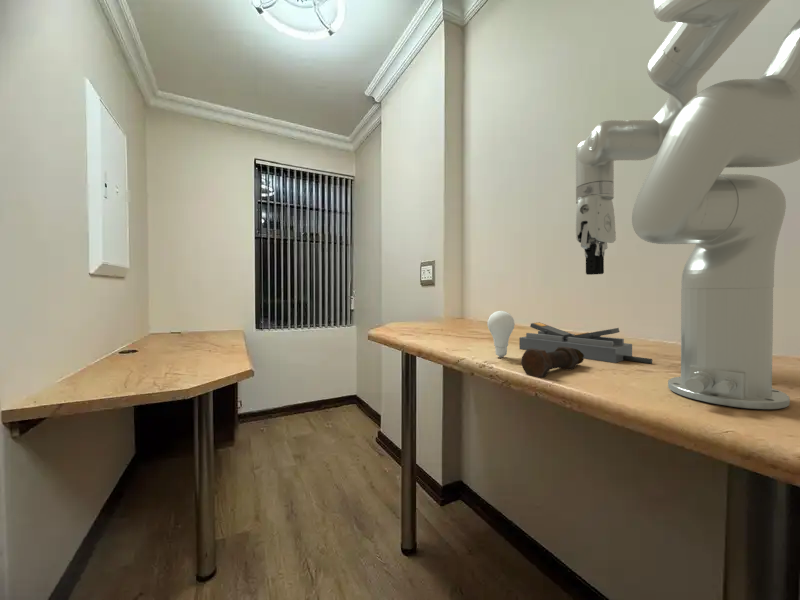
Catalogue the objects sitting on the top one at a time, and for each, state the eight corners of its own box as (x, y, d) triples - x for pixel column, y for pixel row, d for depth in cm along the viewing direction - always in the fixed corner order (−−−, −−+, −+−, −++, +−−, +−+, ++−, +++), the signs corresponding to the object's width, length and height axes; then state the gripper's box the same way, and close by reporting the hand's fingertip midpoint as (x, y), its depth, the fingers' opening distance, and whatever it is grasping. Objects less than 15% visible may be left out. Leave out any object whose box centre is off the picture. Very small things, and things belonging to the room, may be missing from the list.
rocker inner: (612, 335, 73) (610, 328, 73) (572, 341, 80) (570, 335, 80) (620, 333, 75) (618, 327, 76) (580, 339, 82) (578, 333, 83)
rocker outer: (561, 340, 82) (563, 334, 82) (529, 327, 89) (531, 322, 89) (570, 338, 84) (571, 333, 84) (538, 326, 91) (539, 321, 91)
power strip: (643, 367, 66) (643, 346, 66) (519, 348, 89) (519, 333, 89) (659, 360, 72) (659, 341, 72) (538, 344, 94) (538, 330, 94)
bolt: (580, 374, 69) (536, 384, 61) (561, 359, 73) (516, 366, 65) (595, 352, 67) (551, 359, 59) (574, 337, 70) (529, 342, 62)
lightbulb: (482, 356, 81) (482, 310, 80) (504, 354, 83) (504, 309, 82) (497, 360, 75) (496, 312, 75) (520, 358, 77) (520, 311, 76)
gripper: (597, 184, 69) (597, 273, 70) (626, 195, 78) (626, 273, 79) (561, 193, 75) (562, 274, 76) (592, 202, 84) (592, 275, 85)
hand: (594, 274), depth 77 cm, fingers closed
